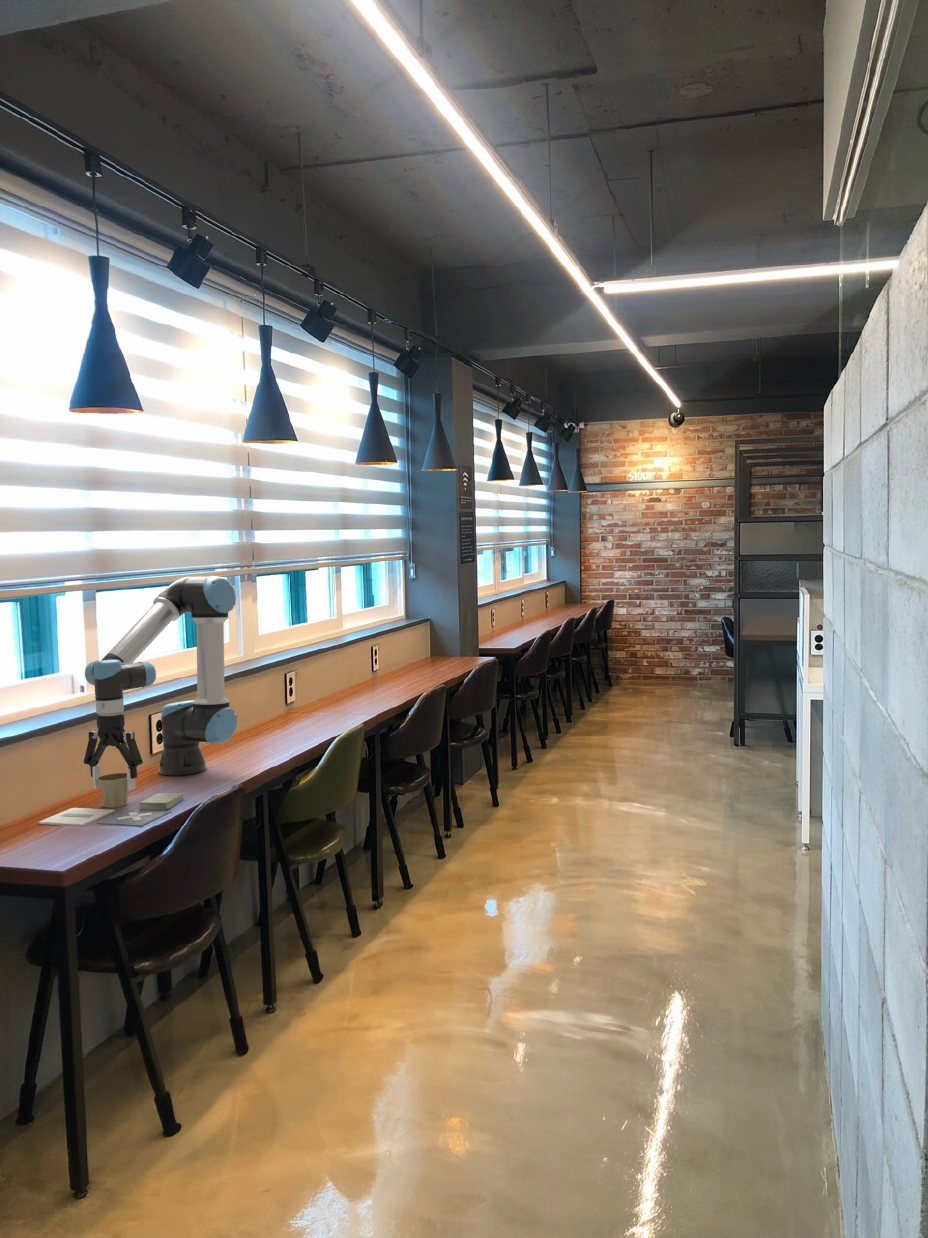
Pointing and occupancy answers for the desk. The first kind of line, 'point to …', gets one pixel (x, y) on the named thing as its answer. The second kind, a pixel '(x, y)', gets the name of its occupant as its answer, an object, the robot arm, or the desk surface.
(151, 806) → the notebook
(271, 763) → the desk surface
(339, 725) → the desk surface
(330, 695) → the desk surface
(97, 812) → the pad
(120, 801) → the flower pot
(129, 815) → the pad
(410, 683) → the desk surface
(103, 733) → the robot arm
